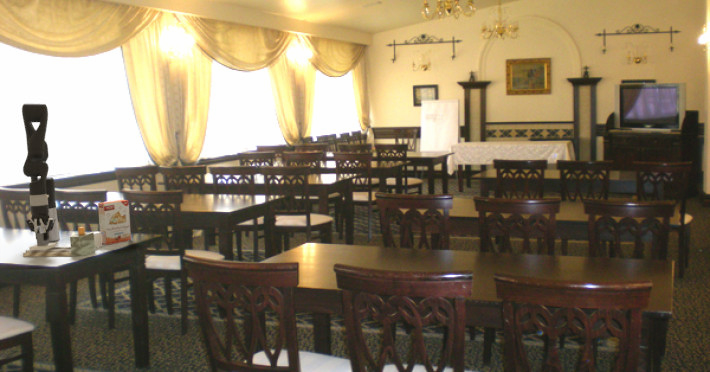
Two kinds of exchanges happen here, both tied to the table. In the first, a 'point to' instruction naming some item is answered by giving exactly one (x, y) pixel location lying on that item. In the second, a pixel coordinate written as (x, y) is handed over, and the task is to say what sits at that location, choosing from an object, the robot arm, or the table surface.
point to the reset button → (81, 230)
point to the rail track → (79, 247)
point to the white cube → (97, 238)
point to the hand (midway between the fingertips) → (42, 240)
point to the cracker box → (114, 221)
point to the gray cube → (42, 243)
